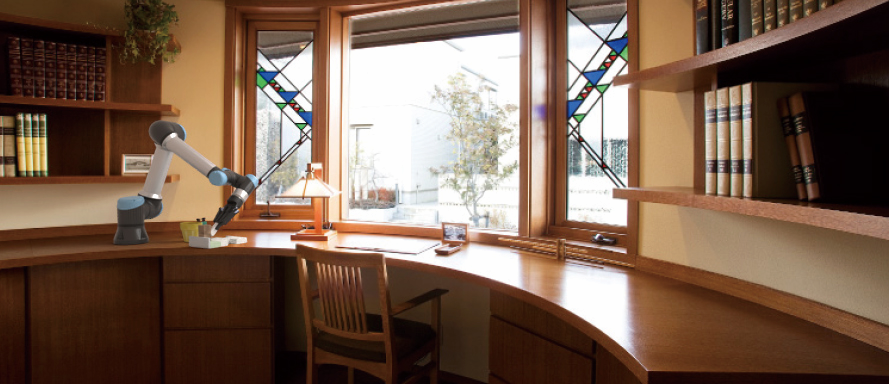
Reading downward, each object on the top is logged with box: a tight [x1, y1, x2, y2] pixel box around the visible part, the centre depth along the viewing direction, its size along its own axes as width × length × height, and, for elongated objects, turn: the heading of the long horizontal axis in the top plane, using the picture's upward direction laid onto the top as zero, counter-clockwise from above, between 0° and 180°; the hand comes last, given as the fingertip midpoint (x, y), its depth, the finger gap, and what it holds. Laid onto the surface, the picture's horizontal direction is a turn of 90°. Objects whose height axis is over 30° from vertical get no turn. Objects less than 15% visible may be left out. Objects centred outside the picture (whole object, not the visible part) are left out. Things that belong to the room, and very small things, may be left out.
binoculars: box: [196, 217, 208, 225], centre depth 280 cm, size 9×11×10 cm
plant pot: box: [179, 221, 202, 243], centre depth 262 cm, size 10×10×10 cm
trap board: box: [188, 235, 248, 249], centre depth 253 cm, size 23×14×5 cm, turn 154°
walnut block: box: [198, 224, 212, 241], centre depth 245 cm, size 4×4×8 cm
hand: (210, 234), depth 248 cm, fingers closed
